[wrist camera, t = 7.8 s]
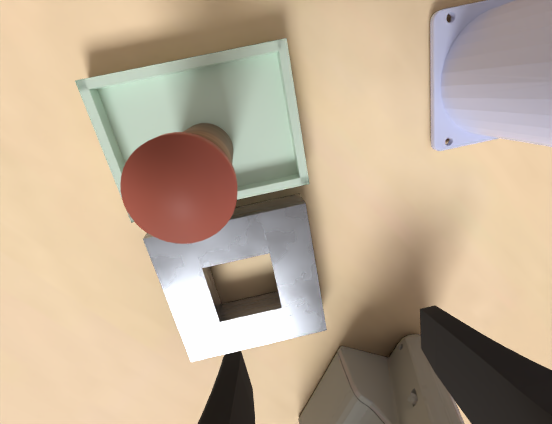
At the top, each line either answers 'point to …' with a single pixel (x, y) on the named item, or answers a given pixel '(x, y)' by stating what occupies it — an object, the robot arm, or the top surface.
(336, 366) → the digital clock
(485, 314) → the top surface
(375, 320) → the top surface
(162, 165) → the pin
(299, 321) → the socket plate
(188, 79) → the tray
